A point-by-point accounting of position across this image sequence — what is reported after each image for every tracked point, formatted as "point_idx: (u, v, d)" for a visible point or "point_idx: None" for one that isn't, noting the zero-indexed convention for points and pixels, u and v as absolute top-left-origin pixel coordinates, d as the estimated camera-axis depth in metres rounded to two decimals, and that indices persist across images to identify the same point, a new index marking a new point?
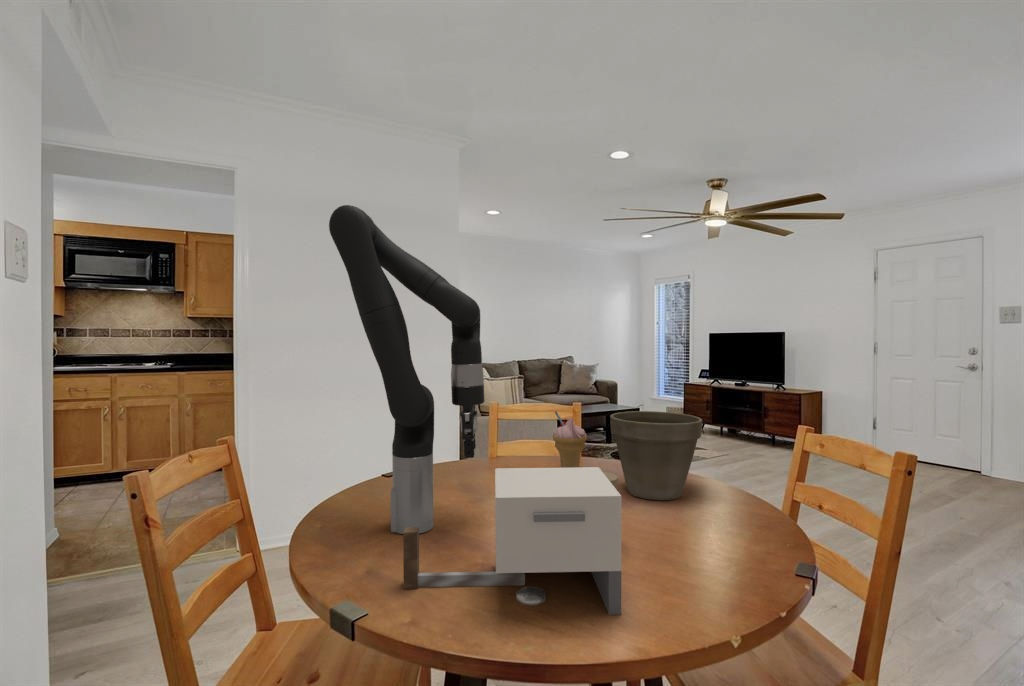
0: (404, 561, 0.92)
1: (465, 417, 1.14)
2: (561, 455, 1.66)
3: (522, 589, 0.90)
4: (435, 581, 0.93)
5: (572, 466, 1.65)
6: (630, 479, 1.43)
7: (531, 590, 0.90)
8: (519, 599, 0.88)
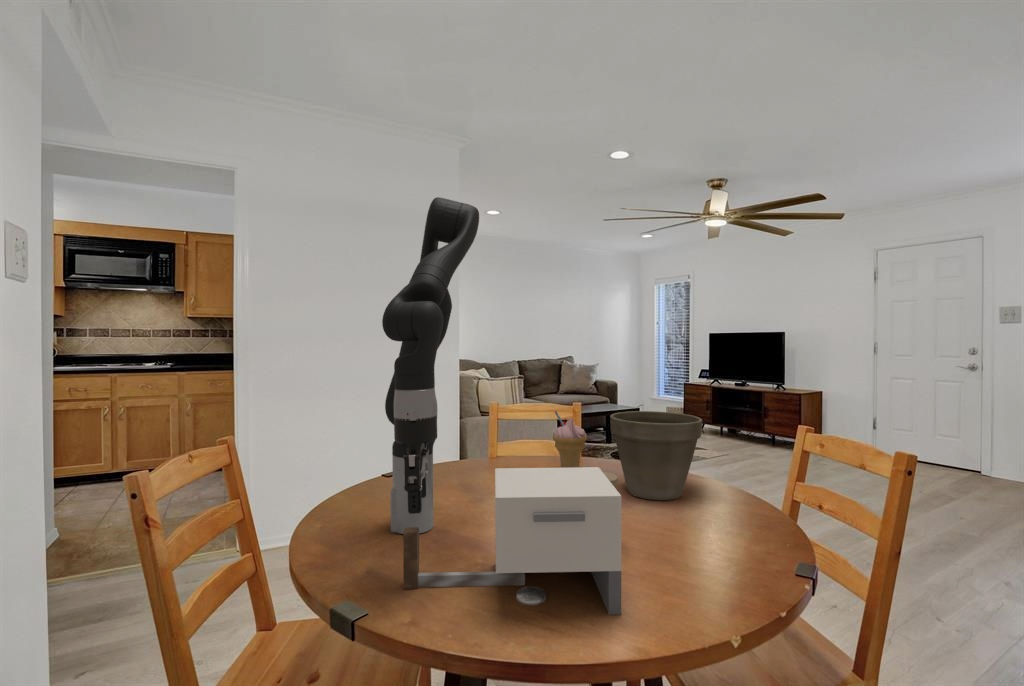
0: (404, 561, 0.92)
1: (409, 461, 0.86)
2: (561, 455, 1.66)
3: (522, 589, 0.90)
4: (435, 581, 0.93)
5: (572, 466, 1.65)
6: (630, 479, 1.43)
7: (531, 589, 0.90)
8: (519, 599, 0.88)
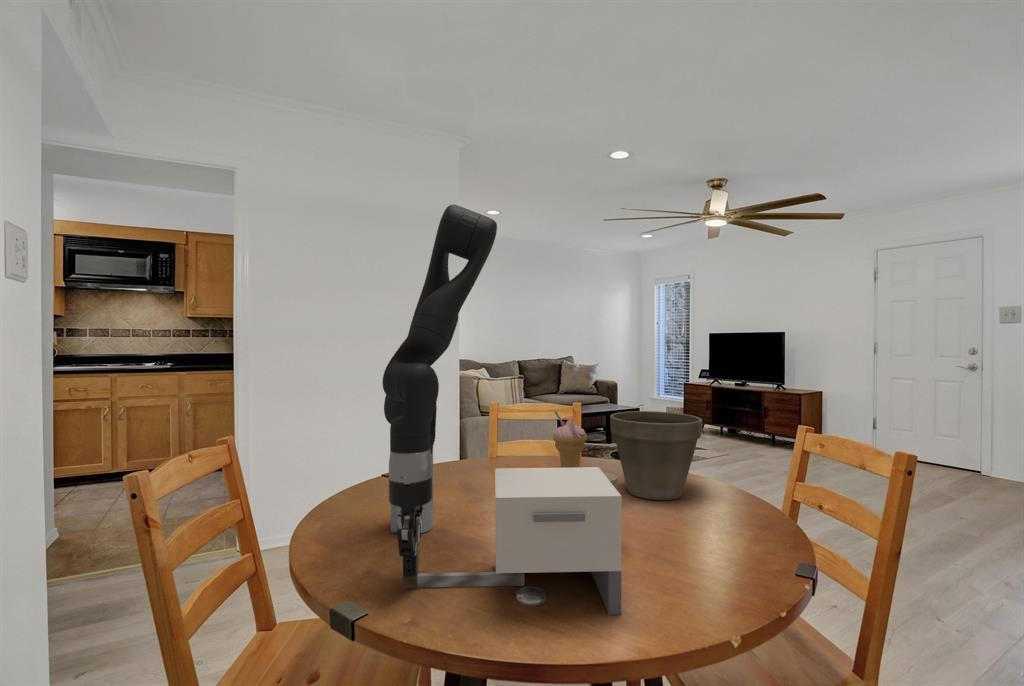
0: None
1: (402, 537, 0.87)
2: (561, 455, 1.66)
3: (522, 589, 0.90)
4: (434, 581, 0.93)
5: (572, 466, 1.65)
6: (630, 479, 1.43)
7: (531, 589, 0.90)
8: (519, 599, 0.88)
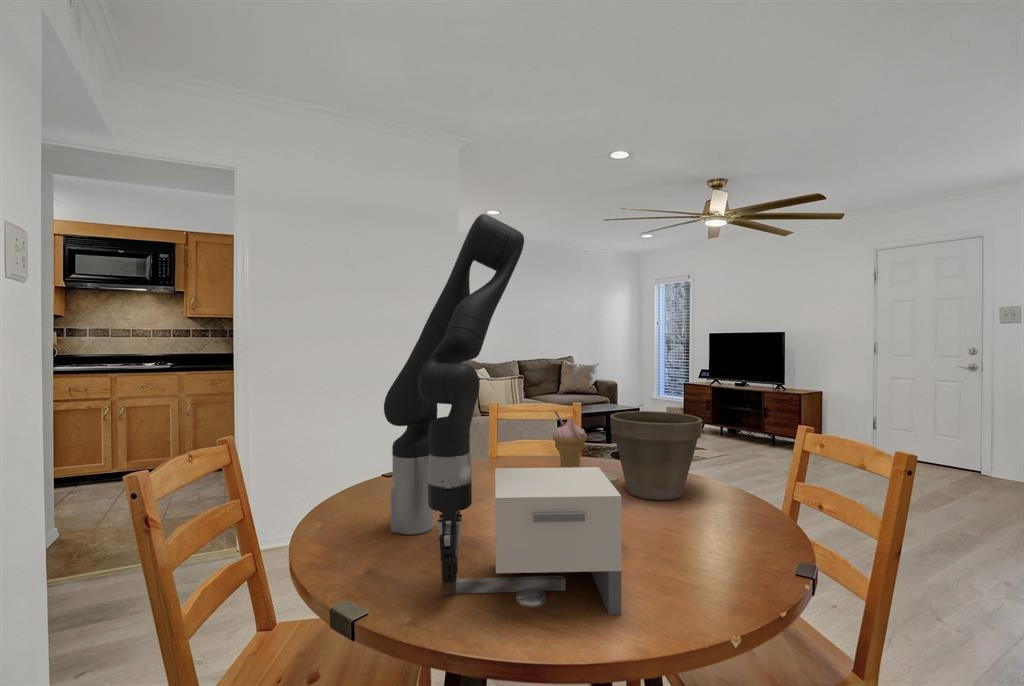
0: (442, 567, 0.90)
1: (444, 543, 0.84)
2: (561, 455, 1.66)
3: (522, 591, 0.90)
4: (473, 587, 0.90)
5: (572, 466, 1.65)
6: (630, 479, 1.43)
7: (531, 591, 0.90)
8: (519, 600, 0.87)
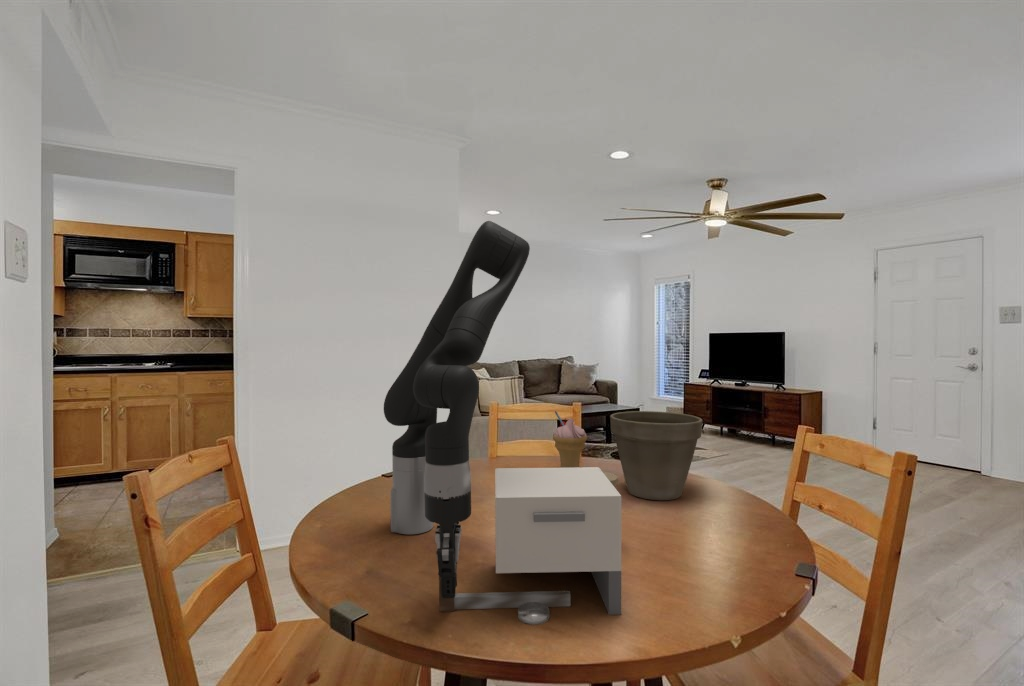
0: (440, 582, 0.84)
1: (442, 557, 0.79)
2: (561, 455, 1.66)
3: (525, 605, 0.85)
4: (473, 603, 0.85)
5: (572, 466, 1.65)
6: (630, 479, 1.43)
7: (534, 606, 0.84)
8: (520, 616, 0.82)
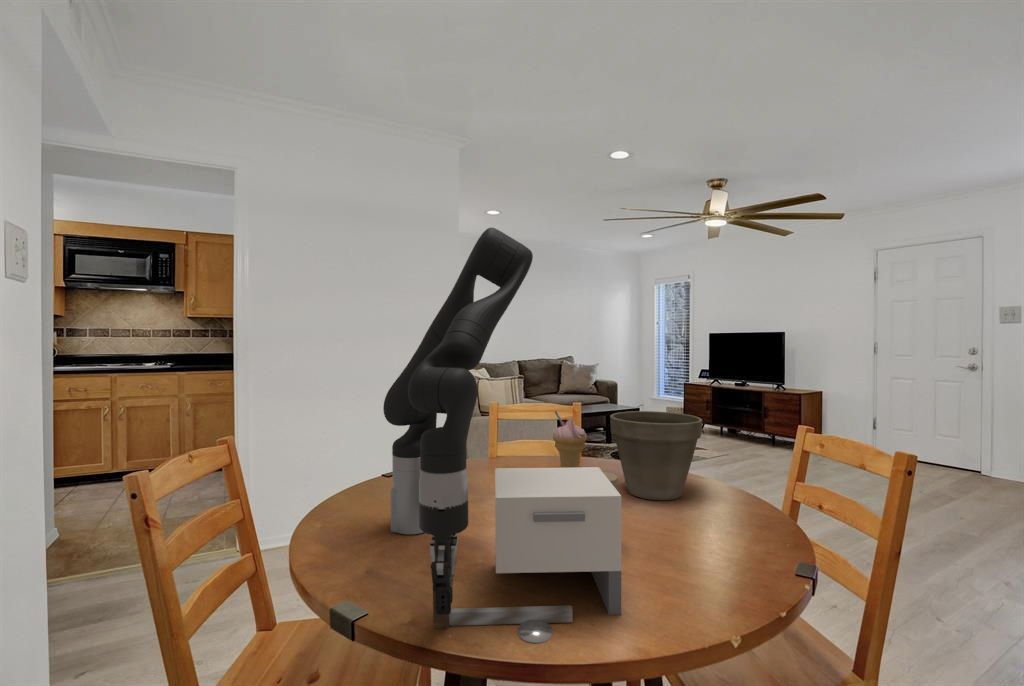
0: (434, 596, 0.80)
1: (437, 571, 0.74)
2: (561, 455, 1.66)
3: (525, 623, 0.80)
4: (469, 619, 0.81)
5: (572, 466, 1.65)
6: (630, 479, 1.43)
7: (536, 624, 0.80)
8: (521, 635, 0.77)
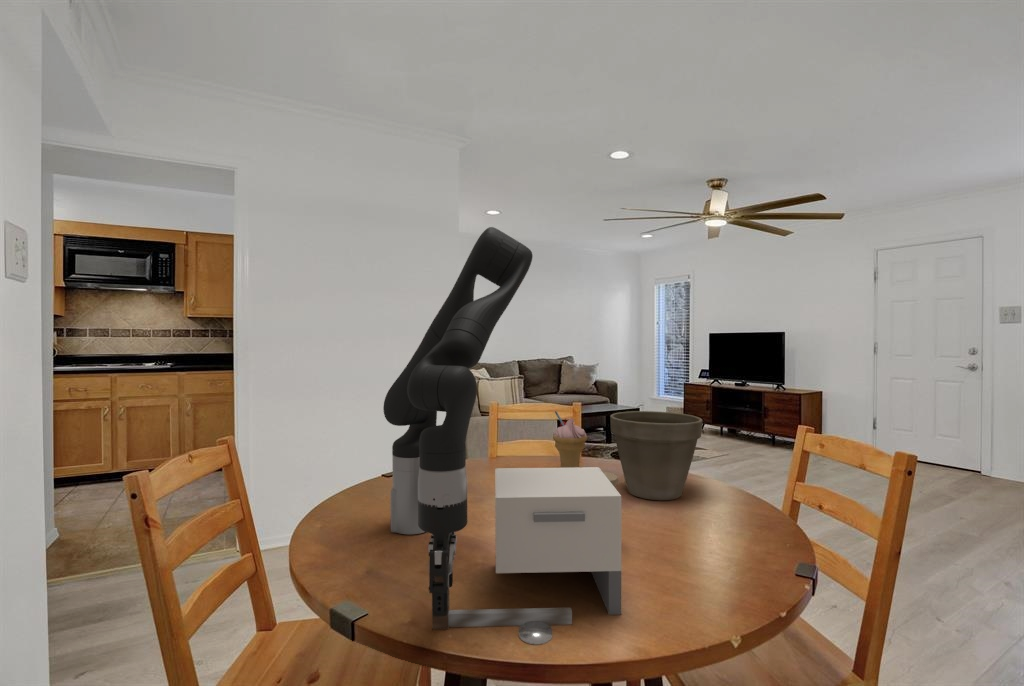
0: None
1: (435, 558, 0.73)
2: (561, 455, 1.66)
3: (526, 625, 0.79)
4: (468, 620, 0.80)
5: (572, 466, 1.65)
6: (630, 479, 1.43)
7: (536, 625, 0.79)
8: (522, 637, 0.77)
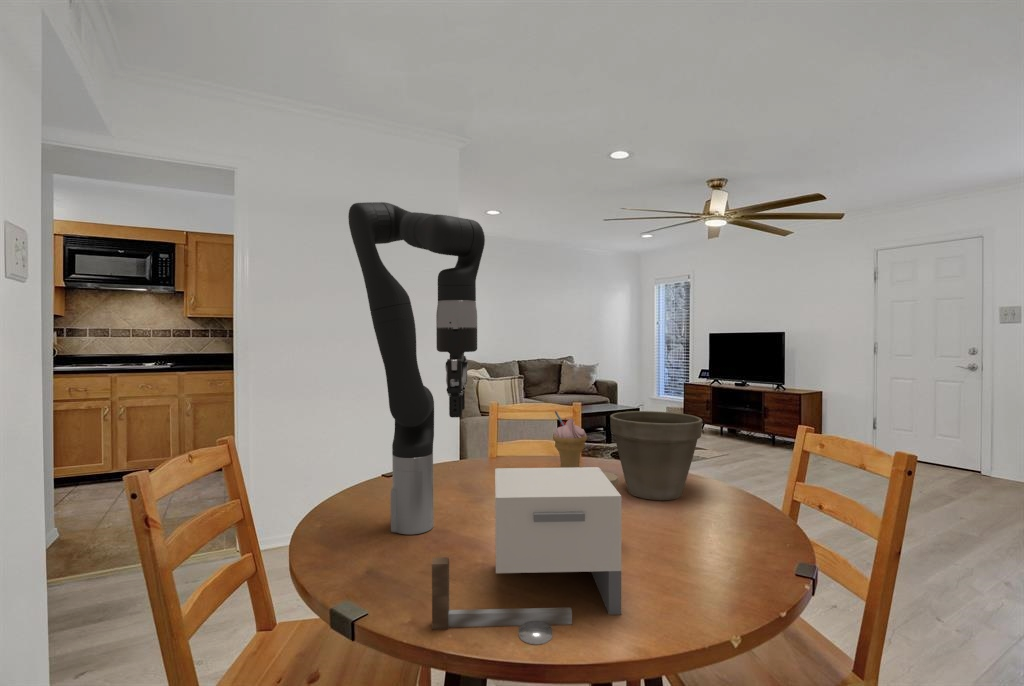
0: (433, 597, 0.79)
1: (452, 364, 0.90)
2: (561, 455, 1.66)
3: (526, 624, 0.79)
4: (468, 620, 0.80)
5: (572, 466, 1.65)
6: (630, 479, 1.43)
7: (536, 625, 0.79)
8: (522, 637, 0.77)
